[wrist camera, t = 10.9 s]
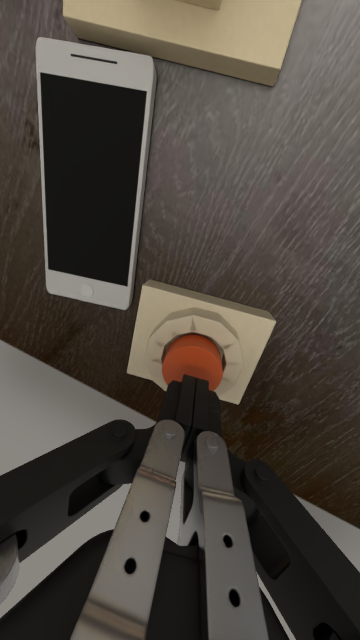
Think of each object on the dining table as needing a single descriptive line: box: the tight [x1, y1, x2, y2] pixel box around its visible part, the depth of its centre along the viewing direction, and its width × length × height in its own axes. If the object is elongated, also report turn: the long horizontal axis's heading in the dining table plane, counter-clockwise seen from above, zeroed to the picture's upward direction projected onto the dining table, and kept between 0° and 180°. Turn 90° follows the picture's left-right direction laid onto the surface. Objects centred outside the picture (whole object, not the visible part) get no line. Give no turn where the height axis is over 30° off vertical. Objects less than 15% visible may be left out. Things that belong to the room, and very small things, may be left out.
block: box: [127, 279, 276, 404], centre depth 17 cm, size 10×8×4 cm
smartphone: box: [36, 37, 157, 310], centre depth 16 cm, size 7×16×1 cm, turn 169°
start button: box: [162, 335, 223, 391], centre depth 15 cm, size 4×4×2 cm
